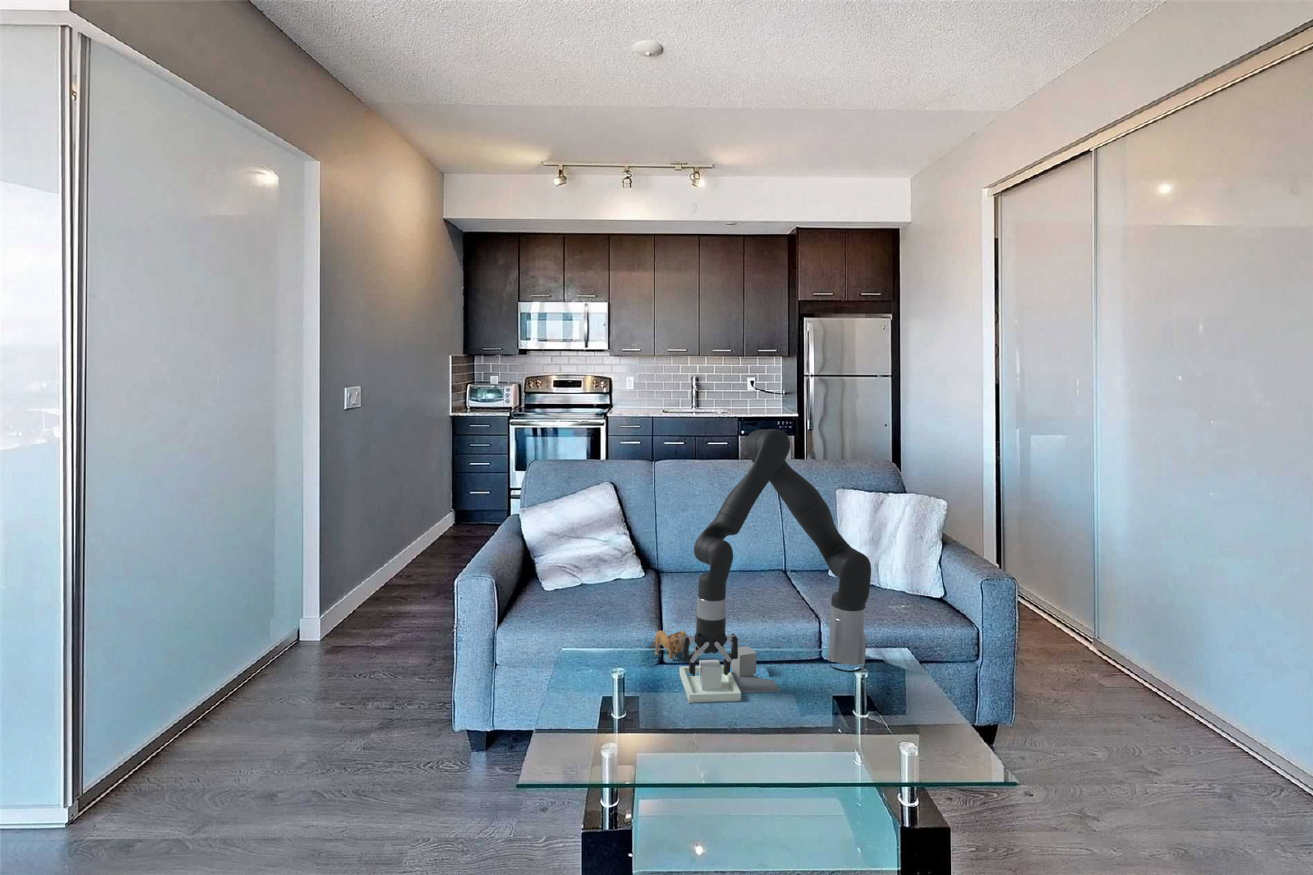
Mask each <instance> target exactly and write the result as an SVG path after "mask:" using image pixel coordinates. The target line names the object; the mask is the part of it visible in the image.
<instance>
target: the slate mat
mask: <svg viewBox="0 0 1313 875" xmlns="http://www.w3.org/2000/svg"><path fill="white" fill-rule="evenodd" d="M731 674H732V676H733V678H734V680H735V682H736V684H737V686H738V688H739V690H740V692H741V694H748V693H749V694H751V693H752V694H753V693H756V694H757V693H780V692H782V691H781V689H780V688H779V686H778V684H777V683H776V681H775V680H774V679H773V680H770V679H769V680H768V679H760V678H761V677H760V678H759V677H757V676H754V675H748V676H742V677H739V676H738V675H736V674H735V673H734V672H731ZM762 678H763V677H762Z"/></svg>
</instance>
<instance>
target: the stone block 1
mask: <svg viewBox="0 0 1313 875" xmlns="http://www.w3.org/2000/svg"><path fill="white" fill-rule="evenodd" d="M698 662H699V663H698V666H699V684H700V687H701V690H702V691H703V690H721V679H722V667H721V663H720V661H719V659H699V661H698Z"/></svg>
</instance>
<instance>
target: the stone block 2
mask: <svg viewBox="0 0 1313 875" xmlns="http://www.w3.org/2000/svg"><path fill="white" fill-rule="evenodd" d="M757 655H758V654H757V652H756V651H754V650H753V649H752V648H750V647H749V646H748V645H747V646H740V647H739V646H738V658H737V659H733V660H731V665H730V667H731V668H732V671H733V672H734V673H735V674H736V675H738V676H739V677H742V676H748V675H753V674H755V673H756V666H757Z"/></svg>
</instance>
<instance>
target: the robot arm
mask: <svg viewBox="0 0 1313 875" xmlns="http://www.w3.org/2000/svg"><path fill="white" fill-rule="evenodd" d="M744 445H745V451H746V454H747V456H748V458H749V459H750V461H752V465H751V467H750V468H749V470H748V472H747V473H746V475H744V477H743V478H742V479H741V480H740V481H739V482H738V484H737V485H736V486H734V487H733V489H732V490H731V491H730V492H729V493H728V495H727V496H726V498H725V499H724V501H723V504H722V505H721V507H720V509H719V510H718V512H717V514H716V516H715V517H714V519H713V520H712V521H711V522H710V523H709V524H708V525H707V526H706V527H705V528H704V530H703V531H702V532H701V533H700V534H699V535H698V537H697V538H696V540H695V543H694V547H693V554H694V557H695V558H696V559H697V561H699V562H701V563H703V564H707V565H709V571H708V572H703V573H702V574H701V575H700V576H699V577H698V578H699V579H698V588H697V589H698V590H697V604H696V621H695V623H696V624H695V625H696V626H695V628H696V629H695V634H694V636H693V635H690V636H689V635H688V634H686V635H684V638H683V649H682V651H681V656H682V659H683V661H688V666H689V672H690V674H692V676H695V666H697V665H696V660H698V658H699V657H701V655H702V654H703V653H704V654H706V655H707V654H710V653H711V654H717V653H718V652H719V653H720V654H721V656H723V658H724V659H723V665H724V674H725V675H728V673H730V667H731V660H733V659H737V658H738V647H739V646H738V644H739V642H738V640H739V639H738V637H737V635H736V634H735V633H731V634H730V635H726V630H727V629H726V625H727V621H726V620H727V601H726V600H727V598H726V596H727V594H726V592H727V580H728V578H729V574H730V571H731V567H732V564H733V559H734V552H733V550H734V549H733V547H732V546H731V544H730V542H728V541H727V540H725V539H726V537H729V536H735V535H738V533H739V532H740V531H741V529H742V528H743V526H744V523H745V522H746V520H747V518H748V516H749V514H750V512H751V510H752V508H753V507H754V505H755V503H756V501H757V500H758V498H759V496H760V495H761V494H762V491H763V490H764V489H765V488H766V487H767V485H768V484H769V482H770V484H771V486H772V487H773V488H774V489H775V491H776V492H777V494H778V495H779V497H780V499H781V500H782V501H783V503H784V504H785V505H786V507H787V509H788V510H789V512H790V513H791V515H792V516H793V517H794V519H795V520H796V521H797V523H798V524H799V525H800V527H801V528H802V529H803V531H804V532H805V533H806V534H807V536H808V537H809V538H810V539H811V541H813V543H814V544H815V546H816V547H817V549H818V550H819V552H820V554H821V556H822V557H823V559H824V561H825V563H826V565H827V567H828V569H829V570H830V572H831V573H832V574H833V575H834V576H835V577H836V578H837V579H839V582H838V590H837V591H836V592H834V593H832V595H831V599H830V600H831V601H830V617H829V618H830V619H829V621H830V622H829V623H830V624H829V642H828V655H827V656H828V657H827V658H828V660H827V661H831V662H837V663H841V664H847V665H848V664H849V665H858V664H865V665H866V650H867V648H866V647H867V634H865V617H866V603H867V601H868V599H869V595H870V590H871V589H870V588H871V581H872V580H871V578H872V564H871V561H870V559H869V557H867V555H865V554H864V553H862V552H861V551H858V550H857V549H855V548H853V547H852V546H850V544H849V543H848V542H847V541H846V540H845V539H844V538H843V536H842V535H841V534H840V532H839V531H838V529H837V527H836V524H835V522H834V518H833V515H832V512H831V509H830V507H829V506H828V504H827V502H826V501H825V499H824V498H823V497H822V495H821V494H820V492H819V491H818V490H817V488H816V487H815V486H814V485H812V483H810V481H808V480H807V479H806V478H805V477H804V476H802V475H800V474H799V473H798V472H797V471H796V470H794V468H792V466H790V464H789V463H788V462H787V461H786V459H787V457H788V455H789V453H790V451H791V441H790V438H789V435H788V434H787V433H786V432H784V431H783V430H781V429H777V428H776V429H775V428H767V429H757V430H754V431H752V432H749V434H748V435H747V437H746V439H745V444H744ZM693 642H694V643H695V644H696V645H695V647H694V648H693V650H692V652H690V653H689V651H690V646H691V645H692V644H693ZM727 642H728V643H729V644H730V647H731V648H730V649H731V651H730V652H729V653H728V652H727V650H726V649H725V647H724V646H725V644H727Z"/></svg>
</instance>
